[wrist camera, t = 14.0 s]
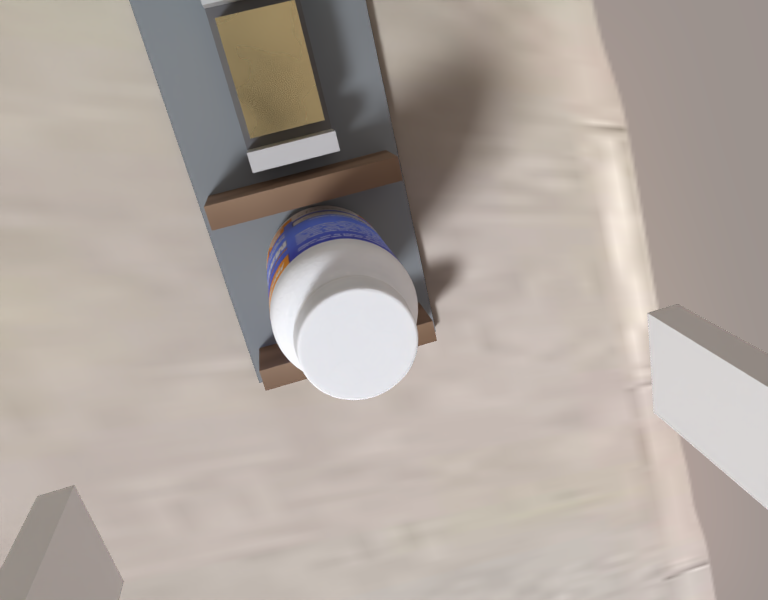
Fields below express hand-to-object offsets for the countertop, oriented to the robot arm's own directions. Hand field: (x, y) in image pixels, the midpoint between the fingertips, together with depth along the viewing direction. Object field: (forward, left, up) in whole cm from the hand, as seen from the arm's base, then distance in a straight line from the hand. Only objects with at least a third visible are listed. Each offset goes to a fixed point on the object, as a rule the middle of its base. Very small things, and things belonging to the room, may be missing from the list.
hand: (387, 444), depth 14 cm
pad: (-8, 0, -15) cm, 17 cm away
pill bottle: (0, 0, -16) cm, 16 cm away
